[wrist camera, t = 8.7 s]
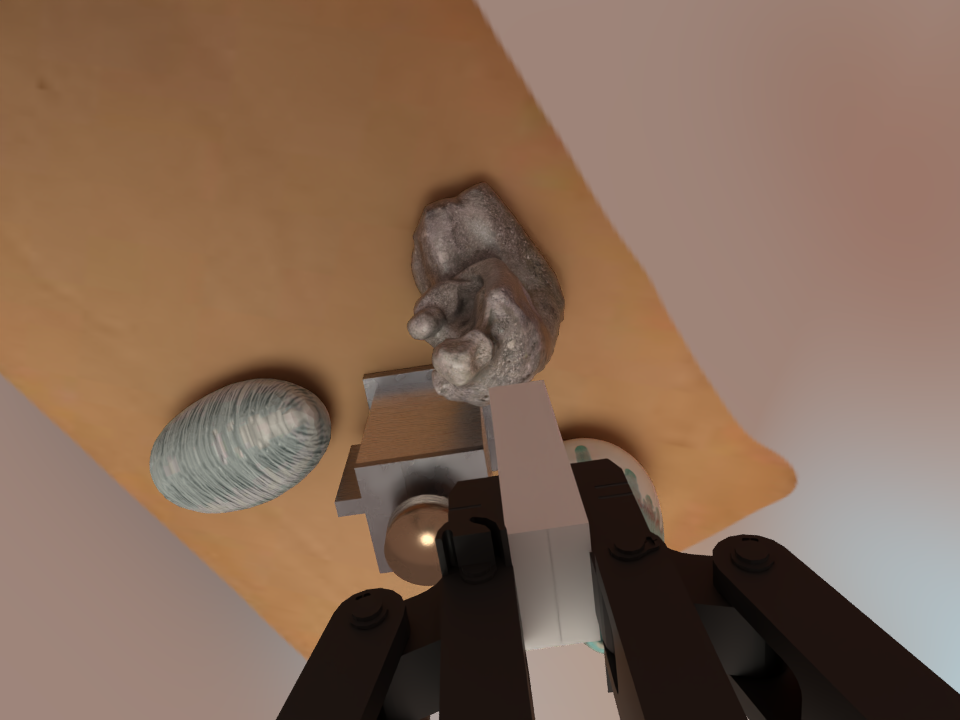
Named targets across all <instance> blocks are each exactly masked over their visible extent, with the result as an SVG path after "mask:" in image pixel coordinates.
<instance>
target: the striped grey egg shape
mask: <svg viewBox="0 0 960 720" xmlns="http://www.w3.org/2000/svg"><path fill="white" fill-rule="evenodd" d="M330 438H331V421H330V417H329V413H328V411H327V409H326V407H325V405H324V404H323V403H322V402H321V400H320V399H319V398H318V397H317V396H316V395H315V394H313V393H312V392H310V391H309V390H307V389H305V388H303V387H301V386H299V385H296V384H293V383H291V382H288V381H284V380H277V379H261V378H258V379H251V380H247V381H242V382H237V383H233V384H230V385H228V386H225V387H223V388H220V389H218V390H216V391H215V392H213V393H210V394H208V395H206V396H205V397H203V398H201V399H200V400H198V401H196V402H195V403H193V404H191V405H190V406H188V407H187V408H186V409H184V410H183V411H182V412H181V413H179V414H178V415H177V416H176V417H175V418H173V419H172V420H171V421H170V422H169V423H168V424H167V425H166V426H165V428H164V429H163V431H162V432H161V433H160V435H159V436H158V437H157V439H156V441H155V442H154V445H153V448H152V451H151V456H150V473H151V477H152V479H153V482H154V484H155V485H156V487H157V489H158V490H159V491H160V492H161V493H162V494H163V495H164V497H165V498H166V499H168V500H169V501H171V502H172V503H174V504H176V505H178V506H179V507H183V508H186V509H189V510H193V511H197V512H202V513H226V512H232V511H237V510H243V509H247V508H251V507H254V506H257V505H260V504H263V503H265V502H268V501H270V500H272V499H274V498H277V497H278V496H280V495H281V494H283V493H284V492H286V491H287V490H289V489H290V488H292V487H294V486H295V485H297V484H298V483H299V482H300V481H301V480H302V479H304V478H305V477H306V476H307V475H308V474H309V473H310V472H311V471H312V470H313V469H314V468H315V466H316V465H317V464H318V463H319V461H320V459H321V458H322V456H323V455H324V453H325V452H326V449H327V447H328V445H329V442H330Z"/></svg>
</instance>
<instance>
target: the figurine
mask: <svg viewBox="0 0 960 720" xmlns="http://www.w3.org/2000/svg"><path fill="white" fill-rule="evenodd" d="M413 239H414V250H413V252H412V262H411V268H412V274H413V277H414V280H415V283H416V286H417V287H418V289H419V291H420V293H421V295H422V296H421V297H420V298H419V299H418V300H417V302H416V303H415V306H414V316H413V317H412V318H411V319H410V320H409V321H408V323H407V328H408V331H409V333H410V335H411V336H412V337H413V338H414V339H418V340H425V341H426V342H428V343H429V344H430V345H431V346H432V347H434V349H433V354H432V364H433V366H434V368H435V369H434V370H433V371H432V384H433V386H434V388H435V390H436V392H437V393H438V395H441V396H443V397H444V398H446V399H447V400H451V401H457V402H466V403H469V404H471V405H475V406H479V407H484V406H487V405H490V397H489V389H488V388H492V387H498V386H505V385H512V384H519V383H526V382H530V381H531V380H532V379H533V377H534V376H535V375H536V374H537V373H538V372H540V371H542V370H543V369H544V368H545V365H546V364H547V363H548V362H549V361H550V358H551V356H552V354H553V352H554V347H555V343H556V340H557V337H558V335H559V327H560V323H561V322H562V321H563V319H564V307H565V300H564V297H563V295H562V291H561V288H560V285H559V282H558V279H557V277H556V275H555V273H554V272H553V270H552V269H551V267H550V266H549V265H548V263H547V262H546V260H545V259H544V257H543V256H542V255H541V253H540V252H539V251H538V250H537V248H536V247H535V245H534V244H533V242H532V241H531V240H530V238H529V237H528V236H527V235H526V234H525V231H524V229H523V228H522V227H521V225H520V224H519V223H518V222H517V220H516V218H515V217H514V215H513V214H512V213H511V212H510V211H509V209H508V208H507V207H506V205H505V204H504V203H503V202H502V200H501V199H500V198H499V197H498V195H497V194H496V193H495V192H494V190H493V189H492V188H491V187H490V186H489V185H488V184H487V183H485V182H481V183H478V184H475V185H473V186H472V187H469V188H468V189H466V190H464V191H463V192H461V193H460V194H459V195H457V196H456V197H453V198H444V199H441V200H438V201H435V202H433V203H431V204H429V205H427V206H426V207H425V208H424V210H423V213H422V216H421V219H420V221H419V224H418V226H417V227H416V229H415V231H414V234H413Z"/></svg>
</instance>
